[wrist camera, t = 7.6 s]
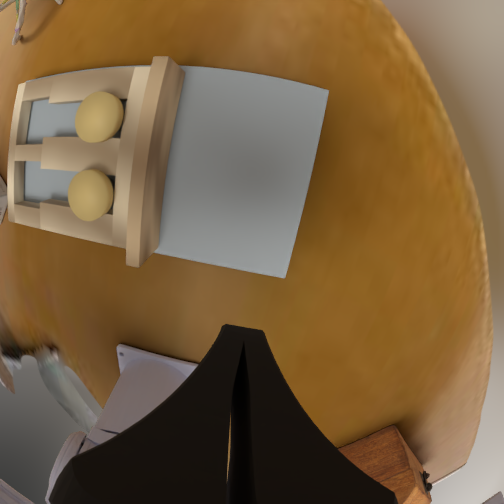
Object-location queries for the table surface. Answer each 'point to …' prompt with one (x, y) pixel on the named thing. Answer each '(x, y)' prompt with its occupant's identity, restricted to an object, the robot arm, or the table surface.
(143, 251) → the beige flat slatted frame
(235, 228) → the board
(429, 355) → the table surface
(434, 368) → the table surface
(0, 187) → the skincare box
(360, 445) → the wooden box
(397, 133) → the table surface
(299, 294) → the table surface
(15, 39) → the dna model
